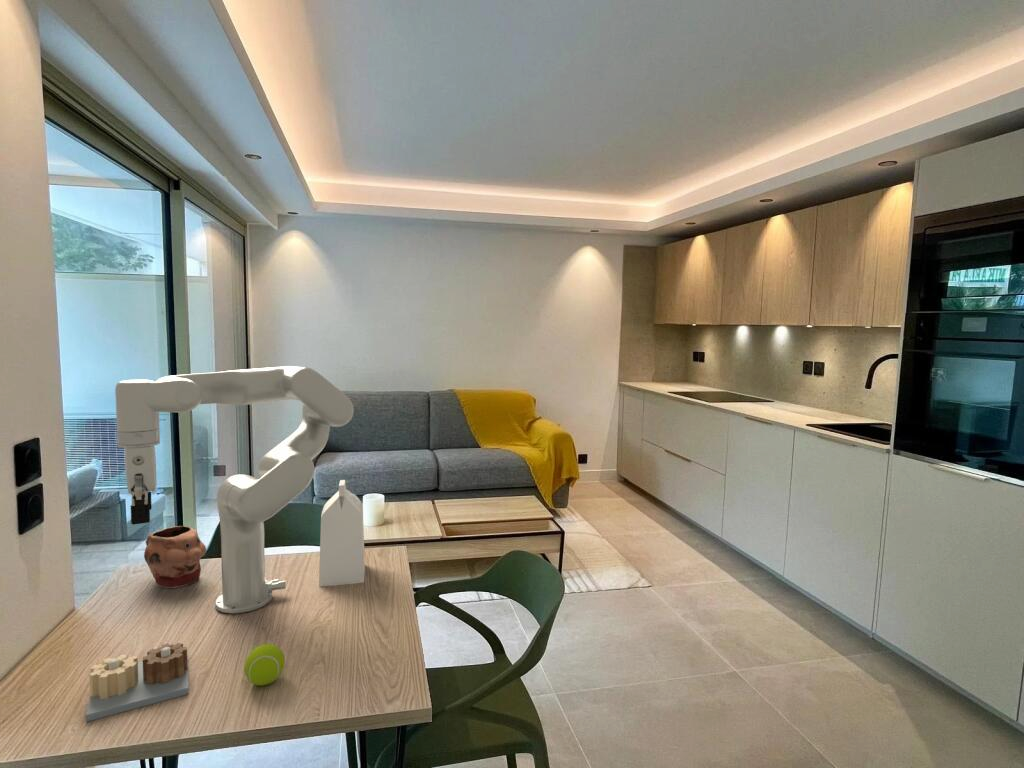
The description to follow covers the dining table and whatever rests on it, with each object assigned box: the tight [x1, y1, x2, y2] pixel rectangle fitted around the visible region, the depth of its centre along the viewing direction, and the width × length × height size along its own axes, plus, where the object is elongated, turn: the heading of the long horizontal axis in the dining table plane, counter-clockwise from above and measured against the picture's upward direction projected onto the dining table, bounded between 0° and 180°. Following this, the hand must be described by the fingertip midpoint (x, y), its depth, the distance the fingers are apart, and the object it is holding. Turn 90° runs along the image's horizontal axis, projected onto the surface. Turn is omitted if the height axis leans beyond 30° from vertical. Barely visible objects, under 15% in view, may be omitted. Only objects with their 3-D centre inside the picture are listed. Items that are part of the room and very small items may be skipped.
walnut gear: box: [142, 642, 189, 685], centre depth 106 cm, size 7×7×4 cm
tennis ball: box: [244, 643, 286, 686], centre depth 105 cm, size 7×7×7 cm
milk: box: [318, 479, 366, 587], centre depth 152 cm, size 12×12×26 cm
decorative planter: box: [143, 525, 207, 589], centre depth 148 cm, size 20×12×14 cm, turn 73°
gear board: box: [85, 647, 190, 723], centre depth 104 cm, size 15×14×6 cm
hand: (141, 516), depth 120 cm, fingers open, 9 cm apart
